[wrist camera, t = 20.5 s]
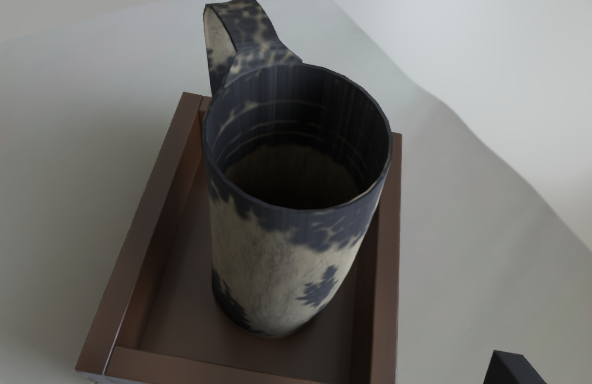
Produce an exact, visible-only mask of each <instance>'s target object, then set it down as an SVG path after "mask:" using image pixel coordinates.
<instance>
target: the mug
mask: <svg viewBox="0 0 592 384" xmlns="http://www.w3.org/2000/svg"><path fill="white" fill-rule="evenodd" d="M203 22H204V34H205V42H206V51H207V60H208V69H209V77H210V86H211V93H212V99H211V100H210V101H209V103H208V106H207V109H206V112H205V114H204V117H203V120H202V144H203V152H204V161H205V169H206V177H207V186H208V195H209V208H210V221H211V234H212V257H213V261H212V293H213V296H214V300H215V303H216V306H217V307H218V309H219V311H220V312H221V314H222V315H223V317H224V318H225V319H226V320H227V321H228V322H229V323H230V324H231V325H232V326H233V327H234V328H236V329H237V330H239V331H241V332H243V333H245V334H247V335H249V336H252V337H257V338H262V339H280V338H285V337H288V336H291V335H294V334H296V333H299V332H300V331H302V330H303V329H304V328H306V327H307V326H309V325H310V324H311V323H312V322H313V321H314V320H315V318H316V317H317V316H318V315H319V313H320V312H321V311H322V310H323V309H324V307H325V306H326V305H327V304H328V303H329V301H330V300H331V299H332V298H333V296H334V294H335V293H336V291H337V289H338V288H339V286H340V285H341V283H342V281H343V280H344V278H345V276H346V275H347V273H348V271H349V270H350V267H351V265H352V263H353V261H354V258H355V256H356V254H357V252H358V249H359V247H360V245H361V242H362V240H363V238H364V236H365V233H366V231H367V229H368V227H369V224H370V222H371V219H372V217H373V214H374V212H375V210H376V207H377V204H378V201H379V198H380V195H381V192H382V189H383V185H384V182H385V179H386V176H387V173H388V170H389V167H390V164H391V161H392V152H393V136H392V133H391V129H390V125H389V122H388V119H387V117H386V116H385V114H384V112H383V111H382V109H381V107H380V106H379V104H378V103H377V101H376V100H375V99H374V98H373V97H372V96H371V95H370V94H369V93H368V92H367V91H366V90H365V89H364V88H363V87H361V86H359V85H358V84H356V83H355V82H353V81H352V80H350V79H349V78H347V77H346V76H344V75H341V74H339V73H336V72H334V71H332V70H329V69H327V68H324V67H320V66H315V65H310V64H305V63H302V59H301V58H299V57H298V56H297V55H295V54H294V53H293V52H292V51H290V50H289V49H288V48H287V47H286V46H285V45H284V44H283V43H282V42H281V41H280V40H279V38H278V36H277V34H276V31H275V29H274V27H273V25H272V23H271V21H270V19H269V17H268V16H267V14H266V13H265V11H264V10H263V8H262V7H261V6H260V4H259V3H258V2H257V1H256V0H232V1H229V2H225V3H212V4H206V5H205V9H204V13H203Z"/></svg>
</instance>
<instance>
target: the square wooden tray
mask: <svg viewBox="0 0 592 384" xmlns="http://www.w3.org/2000/svg"><path fill="white" fill-rule="evenodd" d="M211 99H212V97H208V96H202V95H198V94H193V93H187V92H183V94H182V96H181V99H180V101H179V104H178V107H177V109H176V112H175V114H174V117H173V119H172V122H171V124H170V127H169V129H168V132H167V135H166V137H165V140H164V142H163V145H162V147H161V150H160V152H159V155H158V157H157V160H156V163H155V165H154V168H153V170H152V173H151V175H150V178H149V180H148V183H147V185H146V188H145V191H144V193H143V196H142V198H141V201H140V203H139V206H138V208H137V211H136V214H135V216H134V219H133V221H132V224H131V226H130V229H129V231H128V234H127V236H126V239H125V242H124V244H123V247H122V249H121V252H120V254H119V257H118V259H117V262H116V264H115V267H114V270H113V272H112V275H111V277H110V280H109V282H108V285H107V287H106V290H105V292H104V295H103V298H102V300H101V303H100V305H99V308H98V310H97V313H96V315H95V318H94V320H93V323H92V326H91V328H90V331H89V333H88V336H87V338H86V341H85V343H84V346H83V349H82V351H81V354H80V356H79V359H78V361H77V364H76V366H75V371H77V372H79V373H80V374H82V375H84V376H86V377H88V378H89V379H91V380H93V381H95V382H96V383H98V384H397V347H398V301H399V255H400V210H401V164H402V134H400V133H395V132H391V133H392V136H393V152H392V161H391V164H390V167H389V170H388V173H387V176H386V179H385V182H384V185H383V189H382V192H381V195H380V198H379V201H378V204H377V207H376V210H375V212H374V214H373V217H372V219H371V222H370V224H369V227H368V229H367V231H366V233H365V236H364V238H363V240H362V242H361V245H360V247H359V249H358V252H357V254H356V256H355V258H354V261H353V263H352V265H351V267H350V270H349V271H348V273H347V275H346V276H345V278H344V280H343V281H342V283H341V285H340V286H339V288H338V289H337V291H336V293H335V294H334V296H333V298H332V299H331V300H330V301H329V303H328V304H327V305H326V306H325V307H324V309H323V310H322V311H321V312H320V313H319V315H318V316H317V317H316V318H315V320H314V321H313V322H312V323H311V324H310V325H309V326H307V327H306V328H304V329H303V330H302V331H300V332H299V333H296V334H294V335H291V336H288V337H285V338H280V339H262V338H257V337H252V336H249V335H247V334H245V333H243V332H241V331H239V330H237V329H236V328H234V327H233V326H232V325H231V324H230V323H229V322H228V321H227V320H226V319H225V318H224V317H223V315H222V314H221V312H220V311H219V309H218V307H217V306H216V303H215V300H214V296H213V293H212V261H213V257H212V234H211V221H210V208H209V195H208V186H207V177H206V169H205V161H204V152H203V144H202V120H203V117H204V114H205V112H206V109H207V106H208V103H209V101H210V100H211Z"/></svg>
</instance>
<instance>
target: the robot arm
mask: <svg viewBox="0 0 592 384" xmlns="http://www.w3.org/2000/svg"><path fill="white" fill-rule="evenodd" d="M483 384H546V383H545V381H544V380H543V379H542V378H541V377H540V375H539V374H538V373H537V372H536V370H535V369H534V368H533V367H532V366H531V364H530V363H529V362H528V361H527V360H526V358H525V357H524V356H523V355H520V354H514V353H508V352H503V351H497V350H494V352H493V355H492V358H491V361H490V364H489V367H488V370H487V373H486V376H485V379H484V382H483Z"/></svg>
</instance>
